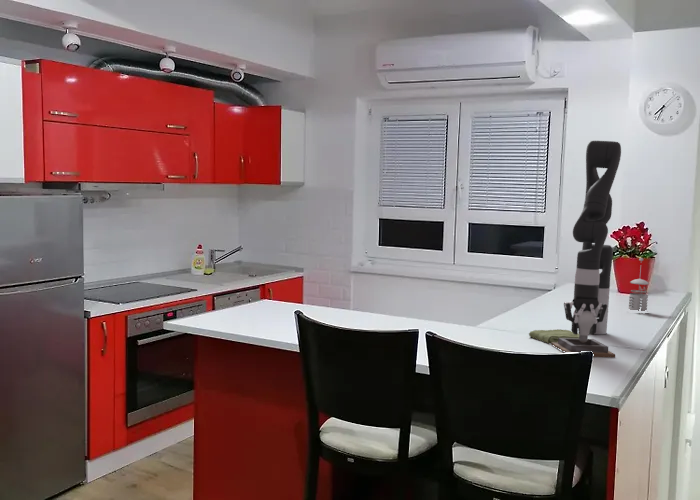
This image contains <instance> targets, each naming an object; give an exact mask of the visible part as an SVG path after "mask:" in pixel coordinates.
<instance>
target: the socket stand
mask: <svg viewBox="0 0 700 500" xmlns="http://www.w3.org/2000/svg"><path fill="white" fill-rule="evenodd" d="M551 344H552V345H554V346H555V347H557V348H559V349H561V350H562V351H565V352H581V351H592V352H593V354H594V357H593V358H616V354H615V353H614V352H612V351H609V346H608V345H606V344H604V343H602V342H600V341H599V340H596V339H594V338H588V339H587V342H585V343H582V342H581V341H579V338H558V343H556V342H551ZM551 344H550V345H551ZM555 347H554V348H555Z"/></svg>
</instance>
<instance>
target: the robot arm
mask: <svg viewBox="0 0 700 500" xmlns="http://www.w3.org/2000/svg"><path fill="white" fill-rule="evenodd" d="M621 157H622V147H621V143H620V142H619V141H613V140H612V141H610V140H590V141H589V142H588V144H587V146H586V152H585V168H586V169H585V176H586V177H585V179H586V181H585V182H586V186H585V187H586V188H585V195H584V196H585V199H584V204H583V208H582V212H581V213H580V215H579V217H578V218H577V221H575V224H574V225H573V229H572V236H573V239H574V241H576V242H578V243H582V248H581V250H579V251H578V252H577V256H576V269H575V275H574V287H573V289H574V290H573V299H572V300H571V301H568V302H567V301H564V303H563V308H564V313H565V319H566V321H569V322H571V329H570V331H571V332H573V334H575V335H577V334H579V330H578V323H577V322H578V317H579V316H580V315H581V314H582V313H583V311H590V312H591V313H592V314H593V315H594V317H595V322H594V324H593V325H592V327H591V329H590V331H589V335H591V336H594V335H606V334H607V330H608V317H609V303H610V301H609V300H610V289H611V273H612V272H611V271H612V266H613V257H614V256H613V255H614V254H613V252H614V249H613V247H612V246H611V245H609V244H605V242H606V240H607V237H608V234H609V228H608V226H607V224H608V223H609V221H610V220H611V217H612V214H613V213H612V211H613V210H612V209H613V198H612V196H611V194H610V193H611V191H612V186H613V184H614V180H615V178H616V174H617V171H618V169H619V165H620V162H621ZM598 169H606V170H605V171H604V173H603V175H601V177H600V176H599V173H598ZM600 270H601V271H600ZM573 307H574V308H575V309H574V311H573V314H572V309H573ZM577 312H578V313H577Z"/></svg>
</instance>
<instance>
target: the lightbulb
mask: <svg viewBox="0 0 700 500" xmlns="http://www.w3.org/2000/svg"><path fill="white" fill-rule="evenodd" d="M576 312H577V311H576ZM577 313H578V312H577ZM594 322H595V317H594V315H593V314H592V313H591V312H590V311H583V313H582V314H581V315H580V316H579V317H578V322H577V323H578V334H579V341H581V342H582V343H585V342H587V339H589V335H590V333H589V331H590V329H591V327H592V325H593V324H594Z"/></svg>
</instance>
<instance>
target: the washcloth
mask: <svg viewBox="0 0 700 500" xmlns="http://www.w3.org/2000/svg"><path fill="white" fill-rule="evenodd" d="M528 335H529V337H530V338H531V337H532V339H534V340H537V339H538V340H537V341H541V340H542V341H541V342H543V341H544V342H543V343H546V342H547V343H546V344H549V343H551V342H556V343H558V338H579V333H578V334H577V335H575V334H573V332H572V331H571V330H568V329H535V330H533V331H530V332H529V333H528Z"/></svg>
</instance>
